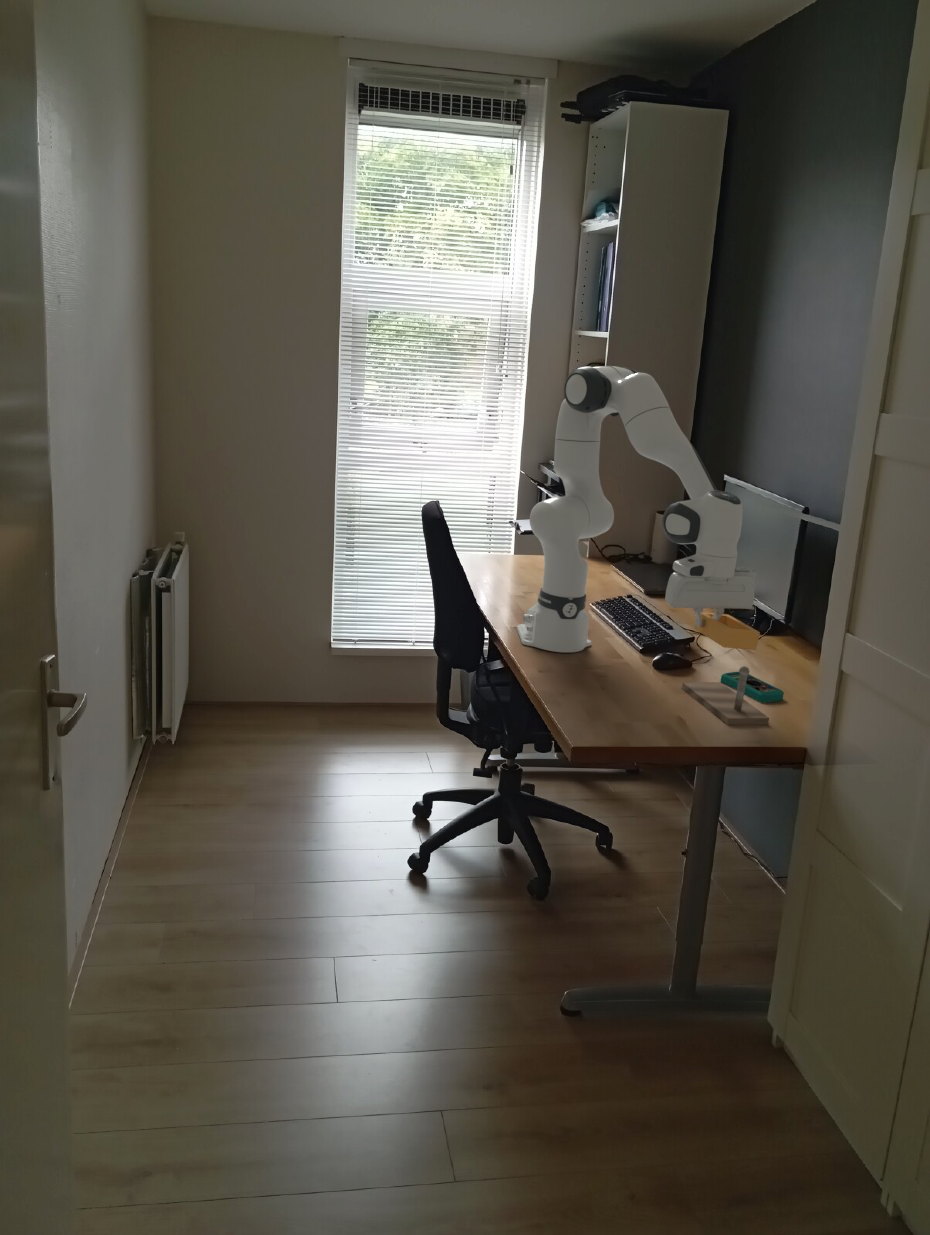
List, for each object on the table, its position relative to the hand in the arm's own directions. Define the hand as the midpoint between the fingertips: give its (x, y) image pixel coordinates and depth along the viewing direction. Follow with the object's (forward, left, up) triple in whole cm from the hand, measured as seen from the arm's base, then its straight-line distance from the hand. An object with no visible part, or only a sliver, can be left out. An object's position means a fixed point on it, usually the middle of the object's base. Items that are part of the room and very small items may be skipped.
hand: (705, 626), depth 227 cm
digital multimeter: (-7, +19, -19) cm, 28 cm away
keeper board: (+2, +6, -18) cm, 19 cm away
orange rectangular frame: (+4, +3, -2) cm, 5 cm away
